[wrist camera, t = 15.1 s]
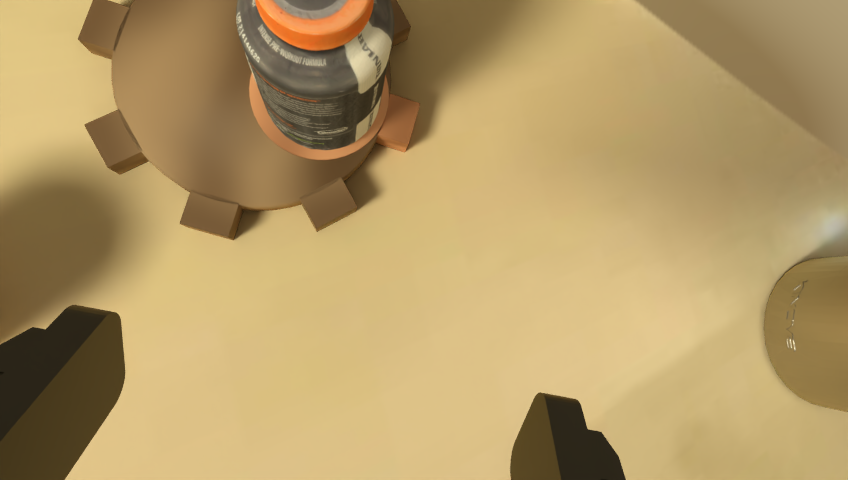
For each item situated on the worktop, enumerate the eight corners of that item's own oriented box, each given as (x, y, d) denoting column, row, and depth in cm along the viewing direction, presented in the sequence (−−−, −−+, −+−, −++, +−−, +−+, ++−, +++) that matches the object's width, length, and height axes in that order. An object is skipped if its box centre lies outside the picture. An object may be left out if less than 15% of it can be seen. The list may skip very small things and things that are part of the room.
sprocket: (449, -3, 33) (456, -20, 31) (368, 278, 30) (370, 277, 29) (153, -109, 31) (142, -134, 29) (40, 185, 28) (21, 178, 26)
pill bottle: (402, 111, 30) (440, 2, 19) (310, 174, 29) (292, 99, 17) (335, 21, 30) (333, -144, 18) (241, 80, 29) (178, -56, 17)
